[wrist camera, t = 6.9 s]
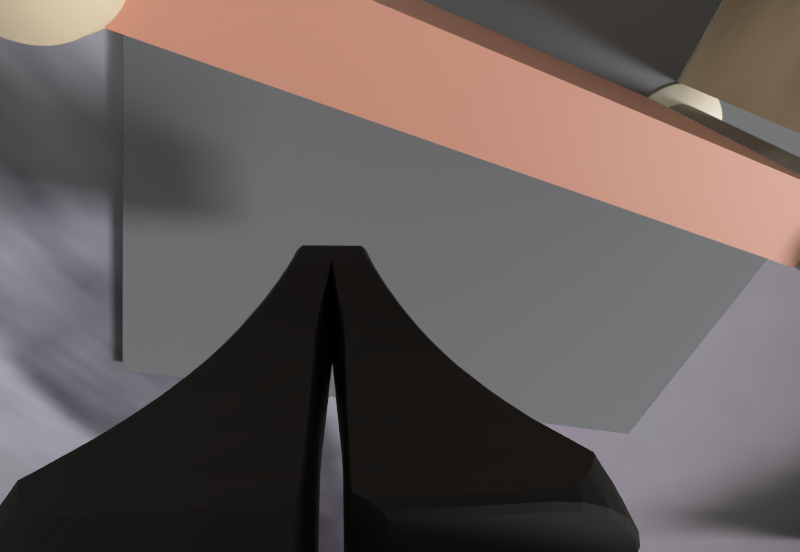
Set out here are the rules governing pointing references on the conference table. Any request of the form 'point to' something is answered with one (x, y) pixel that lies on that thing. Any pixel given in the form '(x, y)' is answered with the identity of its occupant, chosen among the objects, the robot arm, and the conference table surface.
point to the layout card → (427, 220)
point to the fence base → (751, 71)
